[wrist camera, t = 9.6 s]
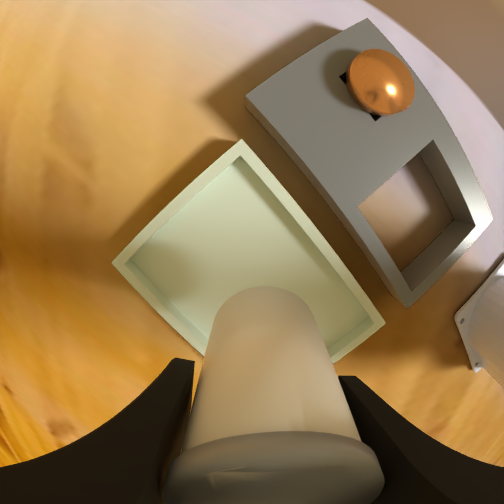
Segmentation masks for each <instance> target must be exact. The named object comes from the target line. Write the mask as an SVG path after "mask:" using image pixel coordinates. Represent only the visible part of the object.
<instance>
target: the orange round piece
mask: <svg viewBox="0 0 504 504" xmlns="http://www.w3.org/2000/svg"><path fill="white" fill-rule="evenodd" d="M346 86H347V88H348V91H349V93H350V95H351V96H352V98H353V99H354V101H355V102H356V103H357V104H358V105H359V106H360V107H361V108H363V109H364V110H366V111H367V112H369V113H371V114H374V115H377V116H390V115H393V114H396V113H399V112H402V111H404V110H405V109H407V108H408V107H409V106H410V105H411V103H412V101H413V99H414V94H415V86H414V81H413V78H412V75H411V73H410V71H409V70H408V68H407V67H406V65H405V64H404V63H403V62H402V61H401V60H400V59H399V58H398V57H396V56H395V55H393V54H392V53H390V52H387V51H385V50H381V49H368V50H365V51H363V52H361V53H360V54H358V55H357V56H356V57H355V58H354V59H353V60H352V62H351V63H350V64H349V65H348V68H347V70H346Z"/></svg>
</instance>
